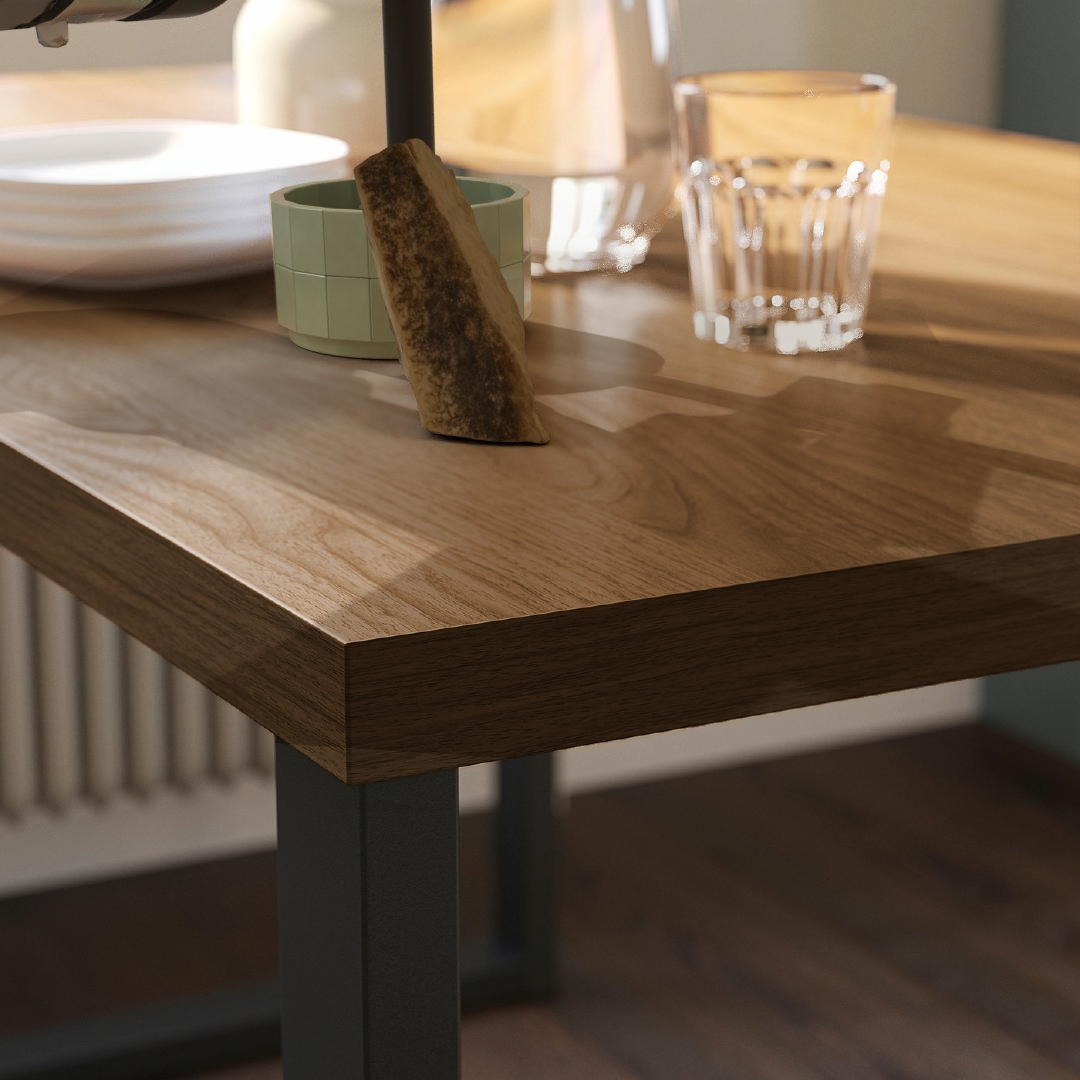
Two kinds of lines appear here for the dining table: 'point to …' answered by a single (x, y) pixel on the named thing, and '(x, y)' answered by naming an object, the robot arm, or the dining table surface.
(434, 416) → the rock
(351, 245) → the bowl
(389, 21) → the dark weighted post stand
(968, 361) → the dining table surface
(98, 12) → the robot arm
